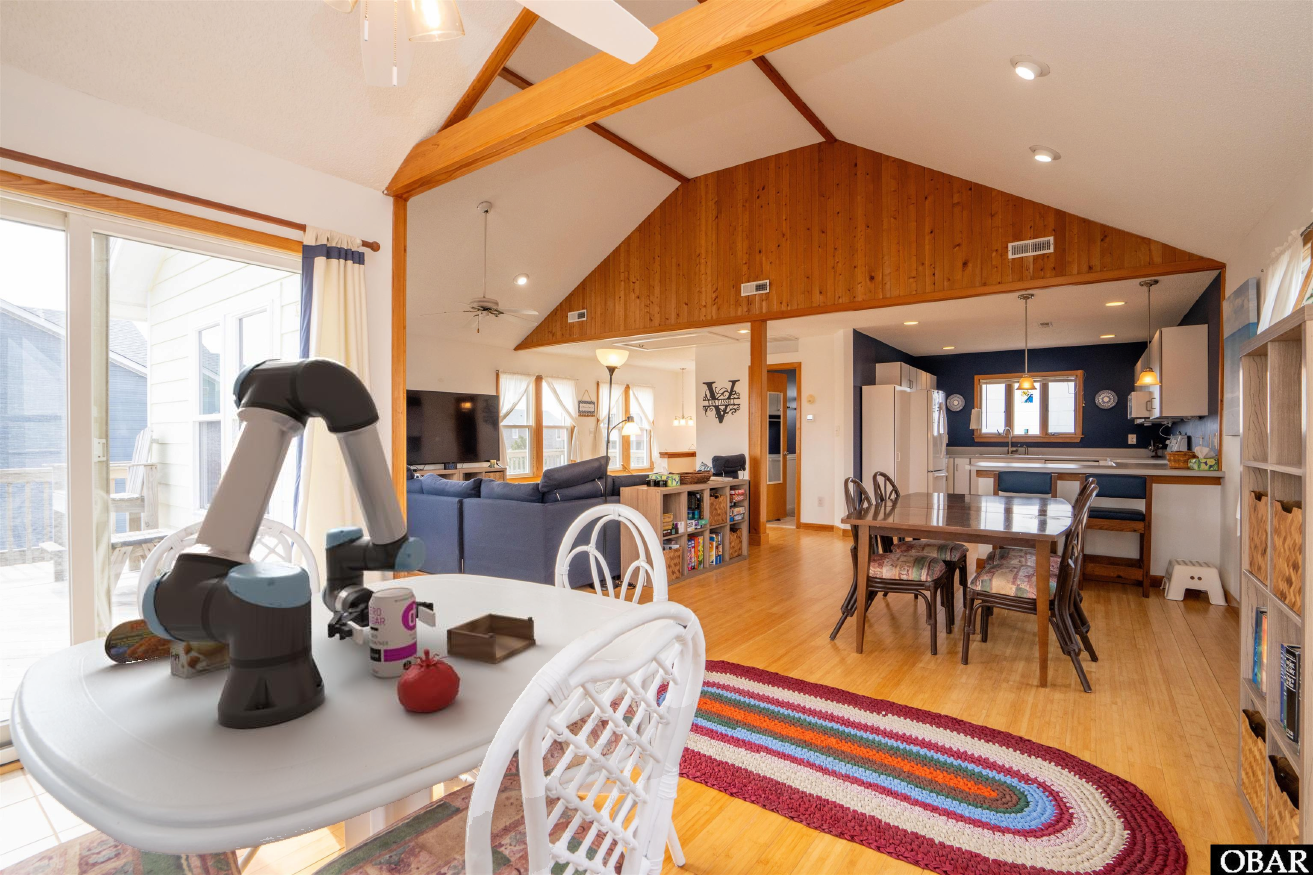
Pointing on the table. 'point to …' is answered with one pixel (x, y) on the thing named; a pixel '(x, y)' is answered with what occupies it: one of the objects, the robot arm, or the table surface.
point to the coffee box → (197, 657)
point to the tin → (135, 642)
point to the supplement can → (392, 631)
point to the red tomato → (428, 685)
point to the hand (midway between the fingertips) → (398, 627)
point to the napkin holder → (490, 638)
